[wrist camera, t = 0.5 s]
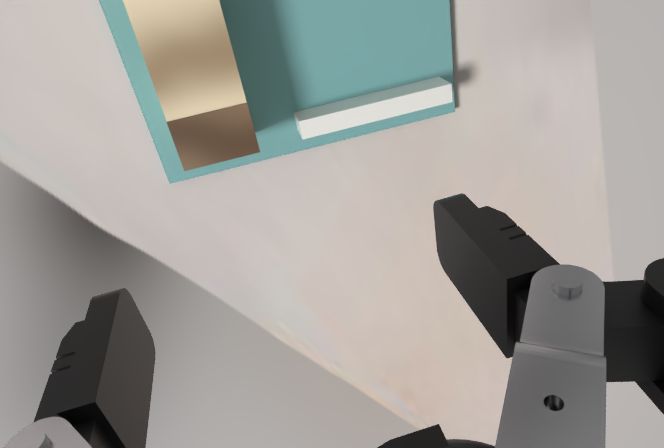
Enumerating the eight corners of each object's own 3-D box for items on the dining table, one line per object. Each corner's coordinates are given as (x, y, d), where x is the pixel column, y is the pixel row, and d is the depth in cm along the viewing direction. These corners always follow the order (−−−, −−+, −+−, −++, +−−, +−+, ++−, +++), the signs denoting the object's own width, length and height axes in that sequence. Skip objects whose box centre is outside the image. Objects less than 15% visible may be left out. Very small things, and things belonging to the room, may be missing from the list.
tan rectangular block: (111, -63, 26) (98, -64, 23) (197, -81, 27) (196, -84, 23) (186, 149, 32) (184, 171, 29) (255, 132, 33) (260, 152, 30)
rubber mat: (62, -102, 25) (59, -102, 25) (437, -174, 27) (440, -176, 27) (170, 180, 34) (169, 183, 33) (451, 109, 36) (455, 111, 35)
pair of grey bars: (246, -102, 27) (248, -105, 25) (425, -138, 28) (439, -143, 26) (297, 129, 33) (302, 139, 32) (440, 94, 34) (452, 102, 33)
